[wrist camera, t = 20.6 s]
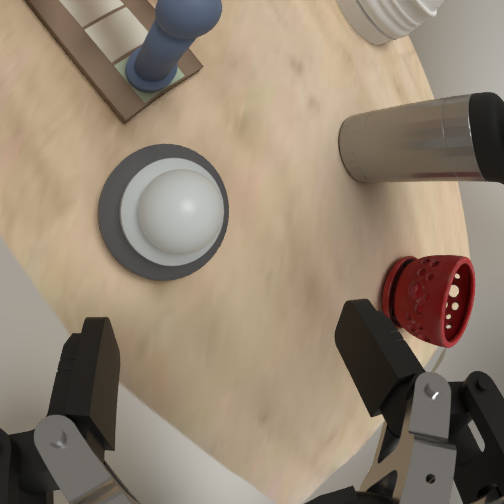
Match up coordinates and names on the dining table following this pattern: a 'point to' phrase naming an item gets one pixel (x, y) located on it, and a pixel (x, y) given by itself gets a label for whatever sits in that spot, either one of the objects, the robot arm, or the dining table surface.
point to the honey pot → (386, 17)
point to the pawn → (169, 41)
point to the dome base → (111, 204)
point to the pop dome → (171, 211)
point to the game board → (108, 45)
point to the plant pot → (430, 297)
